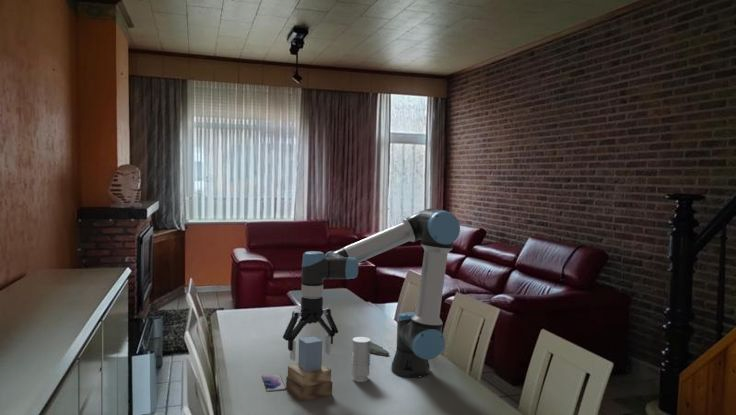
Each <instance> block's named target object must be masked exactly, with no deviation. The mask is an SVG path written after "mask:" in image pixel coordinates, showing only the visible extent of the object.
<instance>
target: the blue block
mask: <svg viewBox="0 0 736 415" xmlns="http://www.w3.org/2000/svg"><path fill="white" fill-rule="evenodd" d="M322 356H323V340H321V339H320V338H318V337H317V336H315V335H314V336H309V337H307V336H306V337H301V338H298V363H297V364H298V367H300V368H301V369H302V370H304V371H305V372H309V371H315V370H320V369H322V365H323V357H322Z"/></svg>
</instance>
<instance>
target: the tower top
mask: <svg viewBox="0 0 736 415" xmlns="http://www.w3.org/2000/svg"><path fill="white" fill-rule="evenodd" d="M287 376H288V378H290V379H291V380H293V381H294V382H295V383H297V384H298V385H300V386H301V387H303V388H304V387H308V386H312V385H317V384H321V383H325V382H329V381H332V369H330V368H329V367H327V366H325V365H323V364H322V369H320V370H315V371H309V372H305V371H304V370H302V369H301V368H300V367H298V363H296V364H292V365H288V366H287Z"/></svg>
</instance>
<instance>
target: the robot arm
mask: <svg viewBox="0 0 736 415" xmlns="http://www.w3.org/2000/svg"><path fill="white" fill-rule="evenodd" d="M460 232H461V225H460V222H459V220H458V218H457V217H456V215H455V214H453V213H452V212H449V211H447V210H444V209H436V208H427V209H423V210H420V211H418V212H416V213H414V214H412V215H410V216H408V217H406V218H403V220H402V221H401V222H400V223H398V224H396V225H394V226H391V227H389V228H386V229H384V230H382V231H379V232H377V233H375V234H372V235H369V236H367V237H366V238H363V239H361V240H359V241H356V242H354V243H353V242H352V243H351V244H348V245H346V246H344V247H342V248H339V249H337V250H330V251H327V252H326V253H324V252H322V251H318V250H317V251H315V250H310V251H309V250H308V251H305V252H304V253H303V254H302V261H301V294H300V295H301V298H300V299H301V300H300V311H295V310H293V311H292V314H291V317H290V318H291V319H289V320H290V321H289V322H288V325H287V326H286V329H285V332H284V334H283V336H282V338H283V340H285V341H287V350H288V351H289V359H290V360H292V361H296V351H297V350H296V345H297V344H296V340H295V339H296V338H297V336H298V335H299V334H300V333H301V332H302V330H303V329H304V327H305V326H307V324H309V325H310V324H317V323H319V324H320V326H321V327H322V328H323V330H324V331H325V332H326V334H325V341H324V342H325V343H324V344H325V345H324V348H325V349H324V353H326V355H327V356H329V355H331V354H332V353H331V352H332V348H331V346H332V345H333V343H334V337H335V336H336V335H335V334H338V333H339V330H338V327H337V325H336V322H335V320H334V318H333V316H332V312H331V309H330V308H329V307H324V308H323V306H324V304H323V303H324V297H323V296H324V280H351V279H356V278H357V277H358V275H359V263H361V262H363V261H366V260H369V259H370V258H373V257H375V256H377V255H379V254H380V255H381V254H382V253H385V252H387V251H390V250H392V249H394V248H397V247H399V246H401V245H403V244H405V243H408V242H412V243H414V242H417V241H419V240H421V241H420V246H422V248H423V250H424V252H423V258H422V265H421V273H420V274H421V275H420V282H419V288H418V289H419V290H418V296H417V303H416V312H414V311H409V312H408V311H407V312H400V313H399V314H398V316H397V321H396V323H397V324H396V350H395V354H394V357H393V359H392V362H391V370H390V371H391V372H392V373H394V374H395V375H398V376H401V377H404V378H405V377H406V378H420V377H419V376H423V377H425V376H424V375H426V376H427V374H428V373H429V372H431V366H430V362H429V360H433V359H435V358H437V357H438V356H440V355H441V354H442V352H443V351H444V348H445V346H446V345H445V344H446V339H445V337H444V334H443V333H442V331H443V323H444V322H443V321H442V319H441V317H440V314H441V306H442V300H443V298H442V297H443V292H444V282H445V278H446V277H445V276H446V269H447V260H448V254H449V253H450V251H451V252H452V250H453V249H454V248H453V247H454V242H456V240H457V239H458V238H459V236H460ZM323 314H324V315H325V318H326V320H327V323H328V324H327V323H326V322H325V320H324V319H323V317H322V316H323ZM298 319H299V320H298ZM297 322H298V323H297ZM328 325H329V326H328ZM429 374H430V373H429ZM429 374H428V375H429Z"/></svg>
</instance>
